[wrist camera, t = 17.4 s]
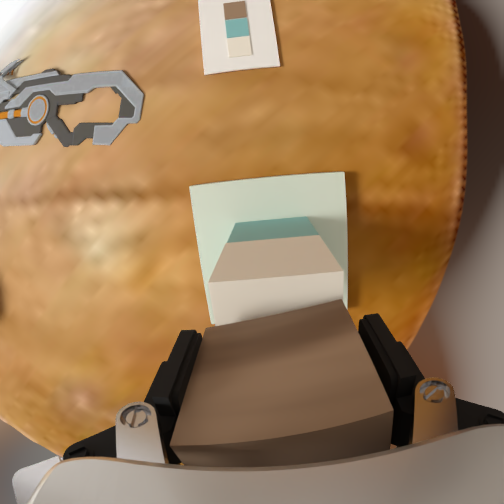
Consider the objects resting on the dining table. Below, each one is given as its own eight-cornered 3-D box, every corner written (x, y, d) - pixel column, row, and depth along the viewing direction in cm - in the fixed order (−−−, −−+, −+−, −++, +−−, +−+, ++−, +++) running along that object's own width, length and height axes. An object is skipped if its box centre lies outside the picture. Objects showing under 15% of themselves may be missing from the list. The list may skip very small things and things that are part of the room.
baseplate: (192, 185, 24) (189, 186, 23) (341, 171, 23) (344, 172, 22) (213, 318, 28) (211, 324, 27) (344, 307, 27) (347, 312, 26)
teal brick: (235, 222, 24) (226, 243, 18) (306, 216, 24) (319, 235, 18) (243, 287, 25) (237, 324, 20) (309, 282, 25) (322, 317, 19)
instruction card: (198, -2, 19) (197, -3, 19) (267, -10, 19) (268, -12, 18) (204, 75, 21) (204, 74, 21) (279, 66, 21) (280, 65, 21)
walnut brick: (205, 327, 12) (169, 445, 6) (341, 298, 12) (393, 410, 6) (242, 416, 14) (233, 520, 8) (352, 395, 13) (382, 497, 7)
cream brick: (225, 242, 18) (208, 282, 12) (319, 235, 18) (343, 271, 12) (236, 324, 20) (226, 384, 14) (321, 317, 19) (339, 375, 14)
